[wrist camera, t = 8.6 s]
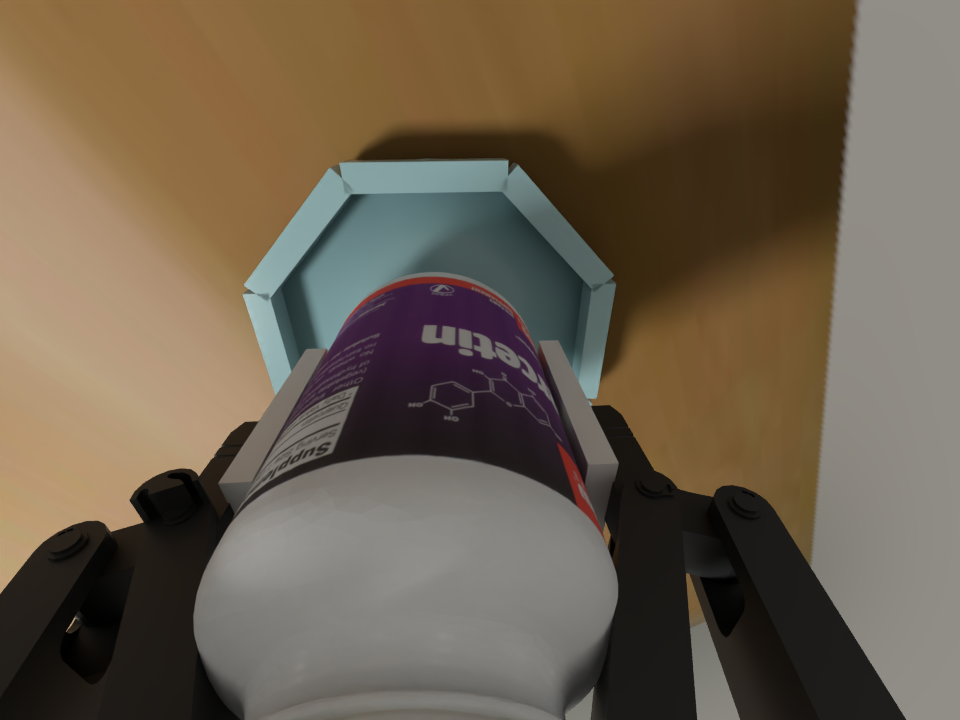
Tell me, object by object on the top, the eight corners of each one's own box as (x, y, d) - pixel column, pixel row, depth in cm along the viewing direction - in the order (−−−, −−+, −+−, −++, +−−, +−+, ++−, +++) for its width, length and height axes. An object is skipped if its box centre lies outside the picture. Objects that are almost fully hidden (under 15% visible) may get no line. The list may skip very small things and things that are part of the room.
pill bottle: (566, 356, 18) (833, 890, 5) (438, 452, 20) (417, 974, 8) (436, 217, 14) (342, 771, 2) (301, 351, 17) (-121, 984, 4)
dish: (229, 160, 15) (200, 164, 13) (617, 155, 16) (637, 158, 14) (315, 454, 23) (303, 481, 21) (574, 442, 23) (584, 467, 22)
